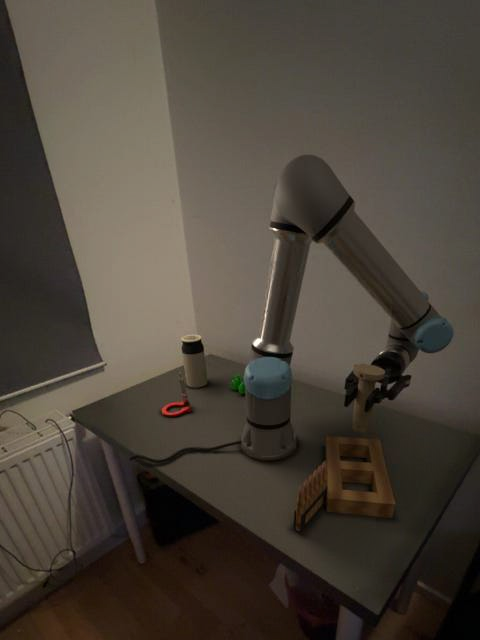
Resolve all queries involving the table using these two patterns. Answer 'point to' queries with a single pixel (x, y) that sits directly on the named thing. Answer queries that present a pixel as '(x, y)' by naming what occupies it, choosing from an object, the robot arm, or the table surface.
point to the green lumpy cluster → (238, 384)
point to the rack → (358, 478)
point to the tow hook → (184, 403)
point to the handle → (364, 394)
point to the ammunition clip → (311, 498)
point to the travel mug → (194, 361)
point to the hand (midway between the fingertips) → (356, 403)
